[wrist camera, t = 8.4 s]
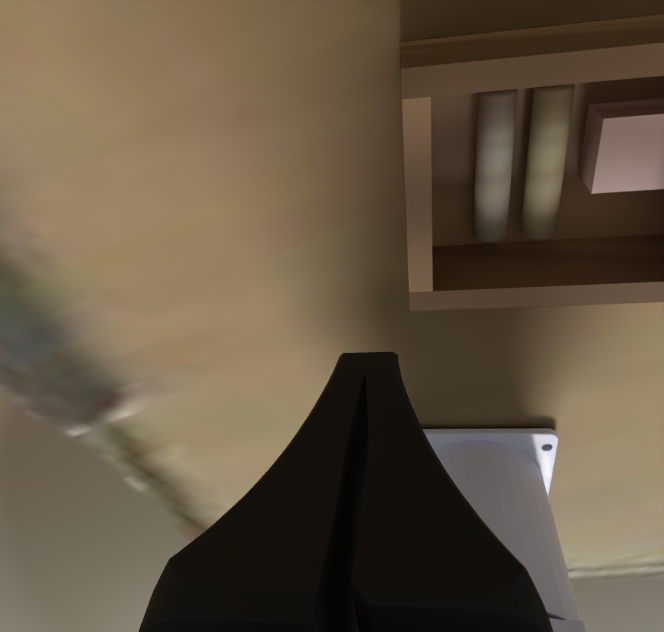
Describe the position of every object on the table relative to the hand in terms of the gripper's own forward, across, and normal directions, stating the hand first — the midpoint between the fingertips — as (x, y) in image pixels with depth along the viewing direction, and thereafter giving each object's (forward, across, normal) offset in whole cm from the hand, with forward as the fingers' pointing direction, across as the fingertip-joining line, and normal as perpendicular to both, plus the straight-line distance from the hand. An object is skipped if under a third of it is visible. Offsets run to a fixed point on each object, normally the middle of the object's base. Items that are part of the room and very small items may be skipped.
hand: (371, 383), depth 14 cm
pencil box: (+10, -9, -2) cm, 14 cm away
